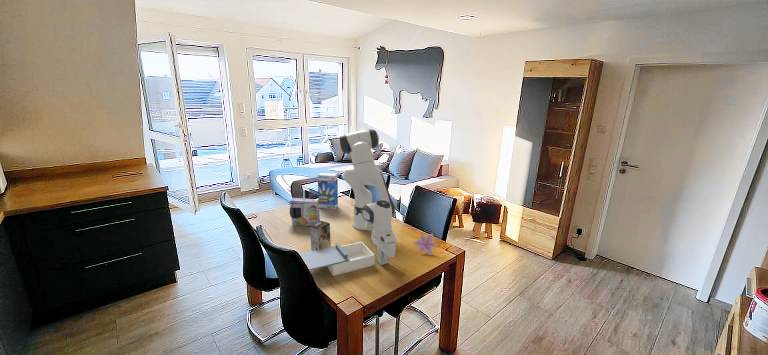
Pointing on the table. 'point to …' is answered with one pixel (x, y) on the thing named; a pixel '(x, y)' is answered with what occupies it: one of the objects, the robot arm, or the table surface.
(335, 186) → the string lights box
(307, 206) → the cake pan box
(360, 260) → the mailer box
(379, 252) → the parcel block
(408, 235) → the table surface
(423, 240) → the lily
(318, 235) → the coffee box
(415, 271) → the table surface
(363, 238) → the table surface
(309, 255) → the lid
